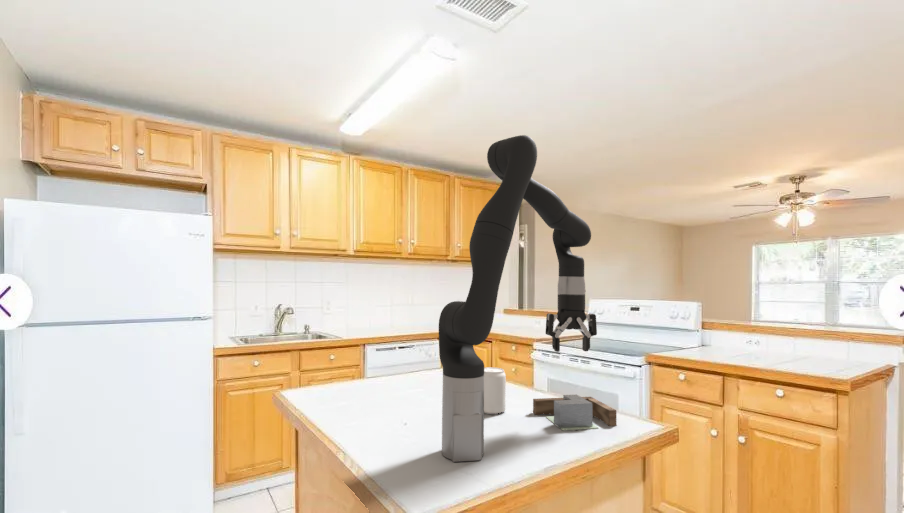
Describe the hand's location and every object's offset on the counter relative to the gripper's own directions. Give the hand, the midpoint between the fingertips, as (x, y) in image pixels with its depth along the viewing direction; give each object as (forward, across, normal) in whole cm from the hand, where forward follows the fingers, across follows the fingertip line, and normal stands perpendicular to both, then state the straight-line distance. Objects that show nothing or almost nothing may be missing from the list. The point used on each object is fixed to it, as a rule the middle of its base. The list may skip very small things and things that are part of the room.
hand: (571, 351), depth 124 cm
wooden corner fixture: (+19, -1, 0) cm, 19 cm away
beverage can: (+19, +20, -11) cm, 29 cm away
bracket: (+19, +2, +3) cm, 19 cm away
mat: (+19, +1, +3) cm, 19 cm away
